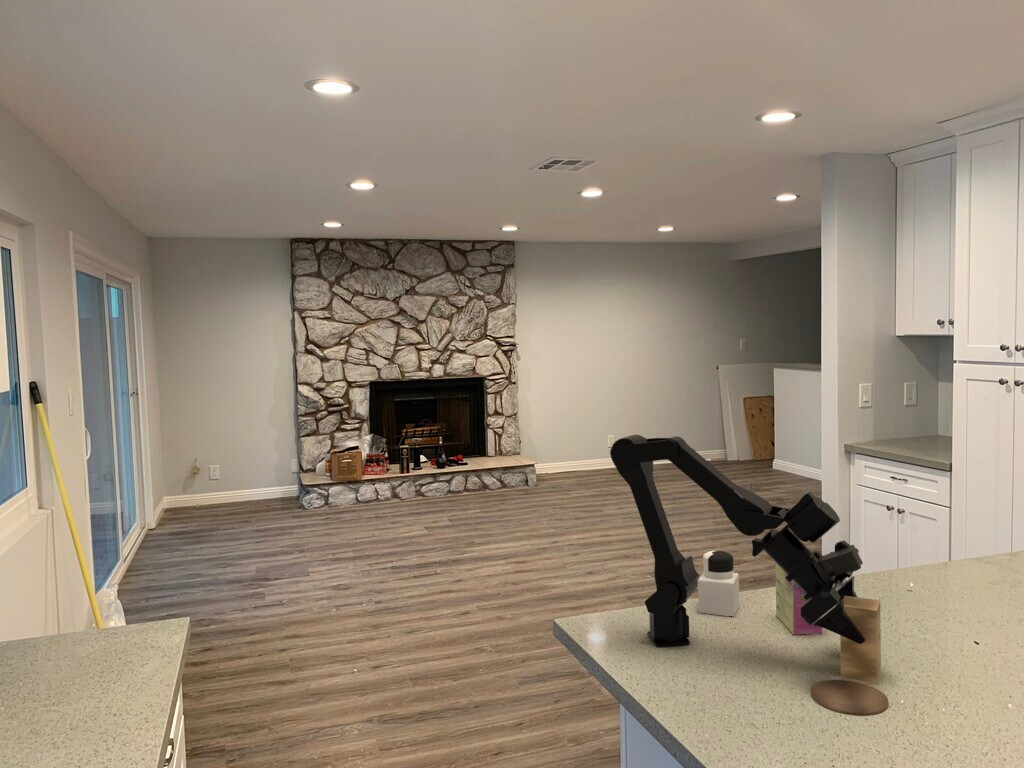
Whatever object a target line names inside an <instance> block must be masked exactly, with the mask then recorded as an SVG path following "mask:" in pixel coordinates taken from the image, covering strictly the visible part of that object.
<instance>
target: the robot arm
mask: <svg viewBox="0 0 1024 768" xmlns="http://www.w3.org/2000/svg"><path fill="white" fill-rule="evenodd" d="M609 453H610V459H611V461H612V463H613V465H614V467H615V468H616V471H617V472H618V474H619V475H620V476H621V477H622V479H623V480H624V481H625V482H626V483H627V484H628V486H629V488H630V491H631V493H632V497H633V499H634V502H635V505H636V508H637V511H638V514H639V516H640V520H641V522H642V526H643V528H644V532H645V535H646V538H647V540H648V543H649V546H650V549H651V551H652V552H651V553H652V554H653V557H654V568H653V569H654V570H653V571H654V576H653V577H654V582H655V588H656V591H655V592H653V593H652V594H651V595H650V596H649V597H648V598H647V599H646V600H645V601H644V604H645V607H646V610H647V613H649V630H648V631H647V636H648V638H649V639H650V641H651V642H652V643H653V644H654V646H655V647H669V646H671V647H672V646H683V645H684V646H685V645H690V643H691V641H690V640H689V637H690V616H689V615H688V614H687V608H686V607H685V606H684V604H686V603H687V601H688V599H689V598H690V597H691V596H692V595H693V594H694V593H695V592H696V590H697V588H698V578H700V574H699V573H698V572H697V570H696V568H695V564H694V559H693V556H692V555H689V556H687V557H685V556H683V555H684V554H682V553H681V552H680V550H679V548H678V547H677V546H678V545H677V544H676V541H675V538H674V535H673V532H672V529H671V526H670V523H669V520H668V518H667V515H666V512H665V509H664V507H663V504H662V500H661V498H660V495H659V492H658V489H657V486H656V483H655V479H654V462H656V461H666V460H668V461H669V462H670V463H672V464H673V465H674V466H675V467H676V468H678V470H680V471H681V472H682V473H683V474H684V475H686V476H687V478H689V479H690V480H692V481H693V482H694V483H695V485H697V486H698V487H699V488H700V489H702V490H703V491H704V492H706V493H707V494H708V495H709V496H710V497H711V498H713V499H714V500H715V501H716V502H717V504H718V505H719V507H721V509H722V511H723V512H724V514H725V516H726V517H727V519H728V520H729V521H730V523H731V524H732V525H733V526H734V527H735V528H736V529H737V531H739V532H740V533H741V534H742V535H745V536H747V537H749V536H750V537H754V538H753V539H752V540H751V544H752V552H751V554H752V556H753V557H757V556H758V555H759V554H760V553H762V552H763V551H764V552H765V553H766V554H767V555H768V557H770V558H771V559H772V560H773V561H774V562H775V564H776V563H777V564H778V565H779V566H780V567H781V569H782V570H783V569H784V570H783V571H784V572H785V573H786V574H787V576H786V577H785V578H786V579H787V580H788V581H789V582H790V581H792V580H793V581H794V582H795V583H796V584H797V585H798V586H799V587H800V588H801V589H802V591H803V592H804V593H805V595H804V596H803V597H804V598H805V599H806V601H805V602H804V604H803V605H802V607H801V617H802V618H803V619H804V620H805V621H806V622H807V623H808V624H809V625H811V624H812V623H813V622H814V624H813V625H815V626H820V627H822V629H825V630H828V631H830V632H833V633H834V634H837V635H839V636H840V635H841V636H843V637H846V638H848V639H850V640H852V641H854V642H856V643H859V644H862V643H863V642H864V641H865V638H864V637H863V635H862V634H861V633H860V631H859V630H858V628H857V627H856V626H855V624H854V623H853V622H852V621H851V619H850V618H849V617H848V615H847V614H846V613H845V611H844V596H851V597H858V595H857V594H856V592H855V591H856V590H855V576H852V575H853V574H854V573H855V572H857V571H859V570H860V569H861V568H862V565H863V561H862V558H861V557H860V554H859V549H858V548H857V547H855V545H854V544H849V542H847V541H845V540H844V539H843V540H840V541H838V542H836V543H835V544H834V551H830V553H827V554H824V555H822V553H821V552H820V551H818V550H815V549H814V550H813V551H812V550H811V549H810V548H808V547H807V546H806V544H804V543H808V542H811V543H816V542H817V541H819V540H820V539H821V538H822V537H823V536H824V535H826V534H827V533H828V532H829V531H830V530H831V529H832V528H834V527H835V526H836V525H838V523H840V522H841V519H840V516H839V515H838V514H837V512H836V511H835V509H833V507H832V506H831V505H830V504H829V503H828V502H824V500H823V499H821V498H819V497H818V496H816V495H814V494H813V493H812V492H811V491H808V492H806V493H805V494H804V495H803V496H802V497H801V498H800V499H799V501H798V502H797V503H796V504H795V505H794V506H792V507H791V508H788V507H782V506H777V505H773V504H771V503H770V502H769V501H767V500H766V499H765V498H763V497H761V496H759V495H758V494H756V493H755V492H752V491H751V490H750V489H749V490H748V489H746V488H744V487H741V486H739V485H738V484H736V483H734V482H733V481H732V480H730V479H729V477H727V476H726V475H725V474H724V473H722V472H721V471H720V470H719V469H717V468H716V467H715V466H714V465H713V464H711V463H710V462H709V461H708V460H707V459H705V458H704V456H702V455H701V454H700V453H698V452H697V451H696V450H695V449H694V448H692V447H691V446H690V445H689V444H688V443H687V442H686V440H685V439H684V438H682V437H681V436H677V435H675V436H671V437H652V438H651V437H650V438H646V437H644V436H642V435H640V434H631V435H628V436H624V437H622V438H618V439H617V440H616V441H614V442H613V444H612V446H611V448H610V451H609ZM784 522H785V523H786V525H784V527H782V528H781V529H780V530H777V528H778V527H779V526H781V525H782V524H783V523H784ZM765 530H766V531H767V530H769V531H768V532H767V533H765V534H764V536H762V537H760V538H759V537H758V538H757V537H756V536H759V535H761V534H762V533H764V532H765ZM847 579H848V580H847Z"/></svg>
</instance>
